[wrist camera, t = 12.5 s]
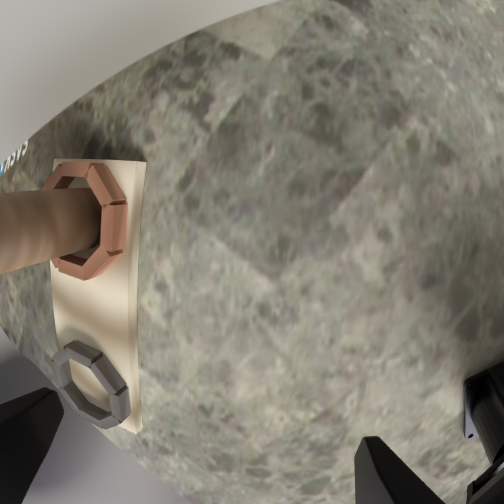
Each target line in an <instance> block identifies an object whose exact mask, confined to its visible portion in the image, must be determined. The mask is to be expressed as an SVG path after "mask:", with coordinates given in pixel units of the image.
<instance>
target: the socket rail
mask: <svg viewBox="0 0 504 504" xmlns="http://www.w3.org/2000/svg"><path fill="white" fill-rule="evenodd" d="M146 164H147V162H139V161H123V160H100V159H54V165H53V173H52V174H51V176H50V177H49V179H48V180H47V182H46V183H45V185H44V186H43V188H42V189H41V190H50V189H67V188H91V189H92V190H93V192H94V194H95V196H96V197H97V199H98V201H99V203H100V204H101V206H102V217H101V240H100V243H99V244H98V245H97V246H95V247H93V248H90V249H86V250H83V251H79V252H75V253H72V254H68V255H65V256H61V257H57V258H54V259H50V265H51V284H52V297H53V308H54V317H55V325H56V333H57V340H58V346H59V351H58V352H57V353H56V354H55V355H54V356H53V357H52V360H51V363H52V368H53V373H54V377H55V382H56V385H57V386H59V388H58V389H59V391H60V392H61V393H62V395H63V396H64V397H65V399H66V400H67V401H68V402H69V404H70V405H71V407H72V408H73V409H74V411H75V412H76V413H77V412H78V413H79V416H81V417H83V418H84V419H86V420H88V421H89V422H91V423H93V424H95V425H96V426H98V427H100V428H102V429H103V428H104V429H108V428H111V427H114V426H116V425H118V426H120V427H122V428H124V429H126V430H128V431H131V432H133V433H135V434H137V433H138V432H139V431H140V430H141V428H142V427H143V424H142V413H141V401H140V387H139V370H138V342H137V285H138V257H139V238H140V224H141V211H142V200H143V190H144V180H145V172H146Z"/></svg>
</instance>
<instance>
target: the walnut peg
mask: <svg viewBox="0 0 504 504" xmlns="http://www.w3.org/2000/svg"><path fill="white" fill-rule="evenodd" d="M101 217H102V206H101V204H100V203H99V201H98V199H97V197H96V196H95V194H94V192H93V190H92V189H91V188H67V189H50V190H35V191H22V192H11V193H0V274H4V273H7V272H10V271H13V270H17V269H20V268H23V267H27V266H30V265H33V264H37V263H40V262H44V261H47V260H50V259H54V258H57V257H61V256H65V255H68V254H72V253H75V252H79V251H83V250H86V249H90V248H93V247H95V246H97V245H98V244H99V243H100V240H101Z"/></svg>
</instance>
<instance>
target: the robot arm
mask: <svg viewBox="0 0 504 504" xmlns="http://www.w3.org/2000/svg"><path fill="white" fill-rule="evenodd" d="M471 383H472V385H470V384H471ZM469 385H470V386H469ZM63 415H64V409H63V406H62V403H61V401H60V398H59V396H58V393H57V392H56V391H55V390H53V389H50V388H48V387H44V388H41V389H38V390H36V391H33V392H31V393H29V394H26V395H23V396H21V397H18V398H16V399H13V400H11V401H8V402H5V403H3V404H0V504H22V502H23V500H24V498H25V496H26V494H27V492H28V490H29V488H30V486H31V484H32V482H33V480H34V478H35V476H36V474H37V472H38V470H39V468H40V466H41V464H42V463H43V460H44V459H45V457H46V455H47V453H48V451H49V449H50V446H51V444H52V441H53V439H54V437H55V434H56V432H57V429H58V427H59V425H60V422H61V420H62V418H63ZM464 436H465V439H466V440H471V439H474V438H476V437H478V436H479V438H480V440H481V442H482V445H483V447H484V449H485V452H486V454H487V457H488V459H489V462H490V464H491V466H490V467H489V468H488V469H487V470H486V471H485V472H484V473H483V474H482V475H481V476H480V477H479V478H477V479H476V480H475V481H473V482H472V483H470V484H469V485H468V486H467V501H466V504H504V362H503V363H501V364H499V365H496V366H494V367H492V368H490V369H488V370H486V371H484V372H482V373H479V374H477V375H475V376H473V377H470V378H468V379H467V380H466V381H465V383H464ZM354 464H355V500H356V504H445V503H444V502H443V501H442V500H441V499H440V498H439V497H438V496H437V495H436V494H435V493H434V492H433V491H432V490H431V489H430V488H429V487H428V486H427V485H426V484H425V483H424V482H423V481H422V480H421V479H420V478H419V477H418V476H417V475H416V474H415V473H414V472H413V471H412V470H411V469H410V468H409V467H408V466H407V465H406V464H405V463H404V462H403V461H402V460H401V459H400V458H399V457H398V456H397V455H396V454H395V453H394V452H393V451H392V450H391V449H390V448H389V447H388V446H387V445H386V444H385V443H384V442H383V440H382V439H381V438H380V437H378V436H366V437H363V438H362V440H361V443H360V445H359V447H358V450H357V452H356V454H355V460H354Z"/></svg>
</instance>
